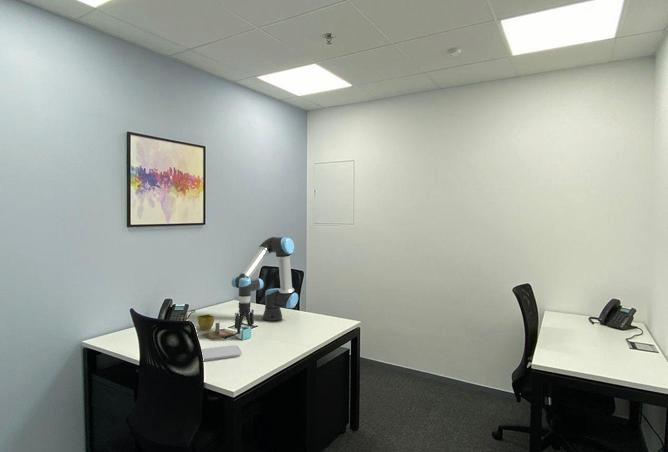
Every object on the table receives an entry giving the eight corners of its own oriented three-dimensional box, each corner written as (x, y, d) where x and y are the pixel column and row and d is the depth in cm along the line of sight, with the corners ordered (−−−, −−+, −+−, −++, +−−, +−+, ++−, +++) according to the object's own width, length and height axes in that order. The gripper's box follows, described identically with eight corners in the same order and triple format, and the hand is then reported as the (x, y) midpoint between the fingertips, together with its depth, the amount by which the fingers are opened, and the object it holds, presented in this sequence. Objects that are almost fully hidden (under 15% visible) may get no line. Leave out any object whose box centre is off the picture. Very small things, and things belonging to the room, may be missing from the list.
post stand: (221, 330, 265) (221, 319, 264) (233, 334, 256) (234, 322, 256) (200, 335, 252) (200, 323, 252) (212, 340, 243) (213, 328, 243)
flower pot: (214, 329, 267) (214, 316, 266) (203, 331, 260) (203, 318, 260) (208, 326, 273) (208, 314, 272) (196, 329, 266) (196, 316, 266)
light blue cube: (245, 335, 253) (245, 326, 253) (251, 337, 249) (251, 328, 249) (237, 337, 249) (237, 328, 248) (243, 339, 244) (243, 330, 244)
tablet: (191, 354, 220) (191, 350, 220) (237, 348, 231) (237, 344, 231) (194, 364, 205) (194, 360, 205) (242, 357, 216) (242, 353, 216)
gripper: (252, 298, 258) (252, 332, 259) (228, 303, 243) (228, 339, 244) (259, 300, 253) (259, 334, 254) (235, 305, 238) (235, 342, 239)
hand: (244, 337), depth 249 cm, fingers closed on light blue cube, 6 cm apart
